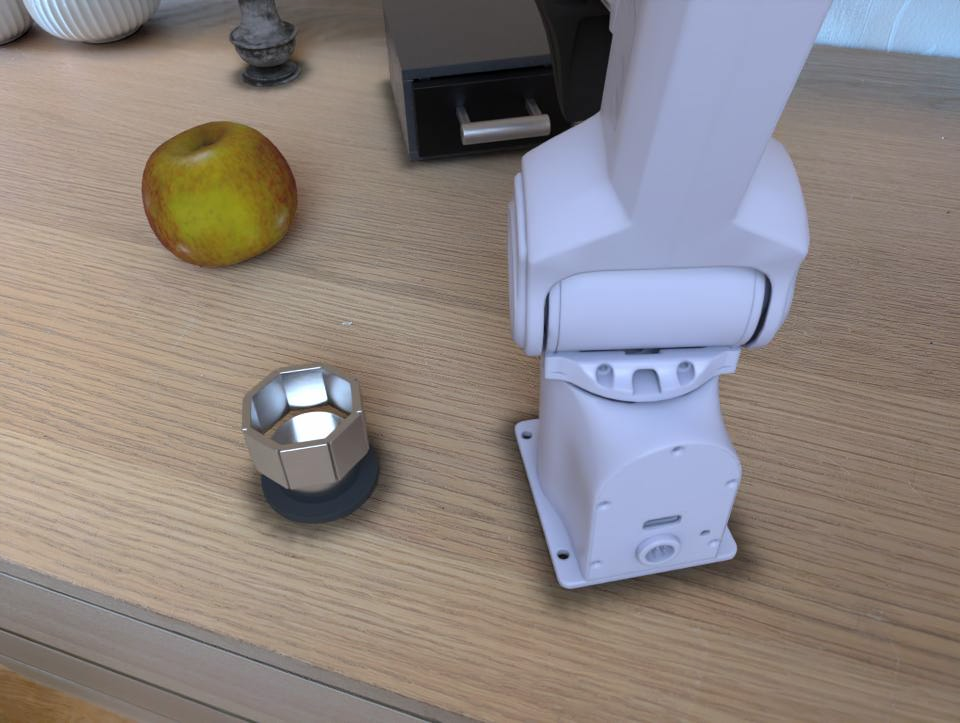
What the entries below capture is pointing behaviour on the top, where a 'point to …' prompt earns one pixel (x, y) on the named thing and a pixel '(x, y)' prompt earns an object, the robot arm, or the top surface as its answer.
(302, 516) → the coaster
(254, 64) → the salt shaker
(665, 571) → the robot arm
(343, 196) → the top surface
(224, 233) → the fruit
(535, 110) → the drawer
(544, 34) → the cabinet
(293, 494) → the silver hollow octagonal piece
